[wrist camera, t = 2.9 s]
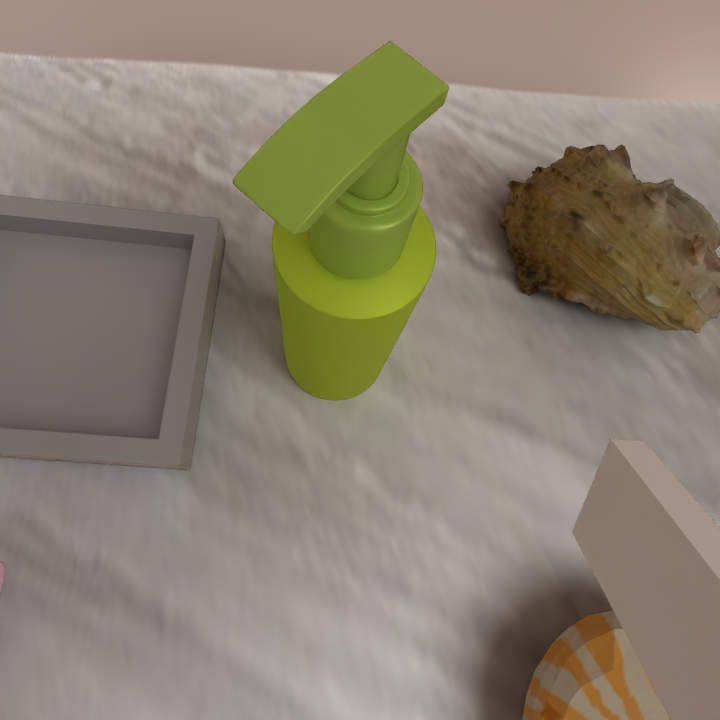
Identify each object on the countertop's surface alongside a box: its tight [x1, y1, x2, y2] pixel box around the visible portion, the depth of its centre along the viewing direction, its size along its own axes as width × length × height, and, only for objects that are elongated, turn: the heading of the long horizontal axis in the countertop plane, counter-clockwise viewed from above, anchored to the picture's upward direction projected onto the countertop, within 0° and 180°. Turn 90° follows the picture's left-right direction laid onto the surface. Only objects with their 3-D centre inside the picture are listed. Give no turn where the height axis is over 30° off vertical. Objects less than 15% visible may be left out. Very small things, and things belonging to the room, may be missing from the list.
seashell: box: [499, 144, 720, 333], centre depth 30 cm, size 11×15×10 cm
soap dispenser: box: [233, 41, 449, 400], centre depth 21 cm, size 6×7×20 cm
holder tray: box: [0, 195, 225, 470], centre depth 28 cm, size 14×14×3 cm
